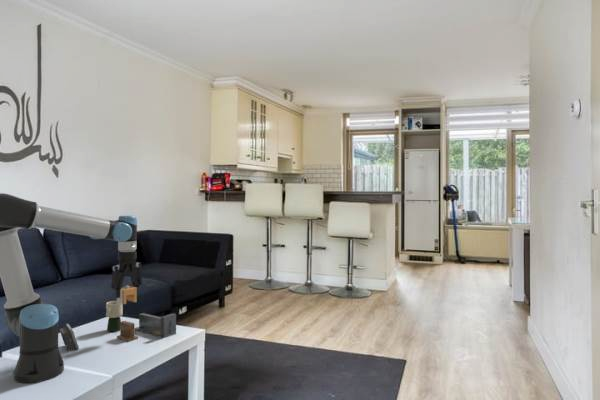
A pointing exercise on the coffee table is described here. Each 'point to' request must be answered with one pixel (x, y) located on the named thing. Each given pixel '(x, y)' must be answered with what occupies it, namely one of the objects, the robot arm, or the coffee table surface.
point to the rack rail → (157, 325)
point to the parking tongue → (127, 331)
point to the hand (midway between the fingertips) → (126, 303)
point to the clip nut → (129, 294)
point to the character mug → (114, 315)
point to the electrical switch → (69, 337)
